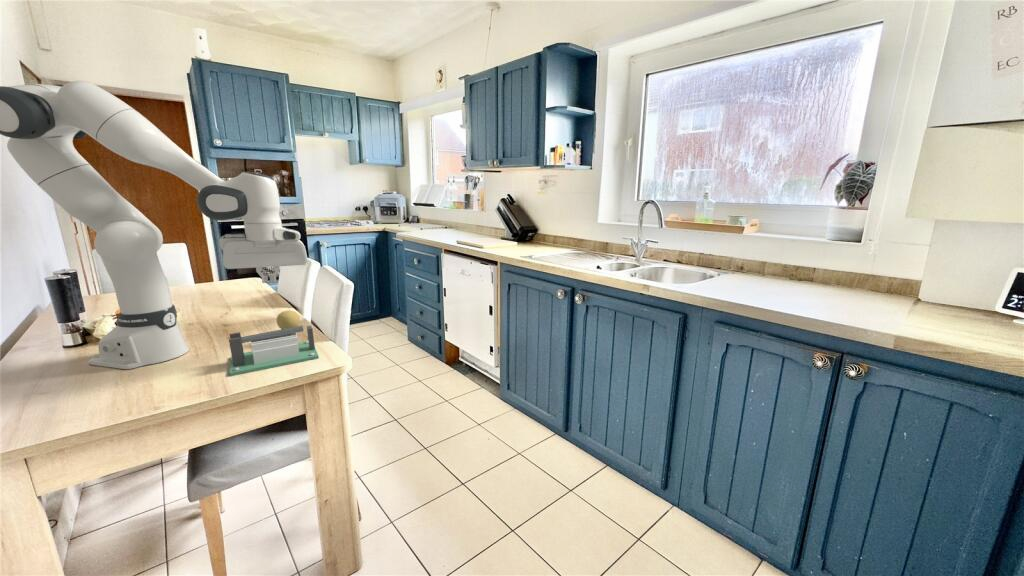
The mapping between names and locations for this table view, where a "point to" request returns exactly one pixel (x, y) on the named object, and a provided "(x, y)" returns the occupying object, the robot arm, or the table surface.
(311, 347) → the board
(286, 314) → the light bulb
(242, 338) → the strap
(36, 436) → the table surface
